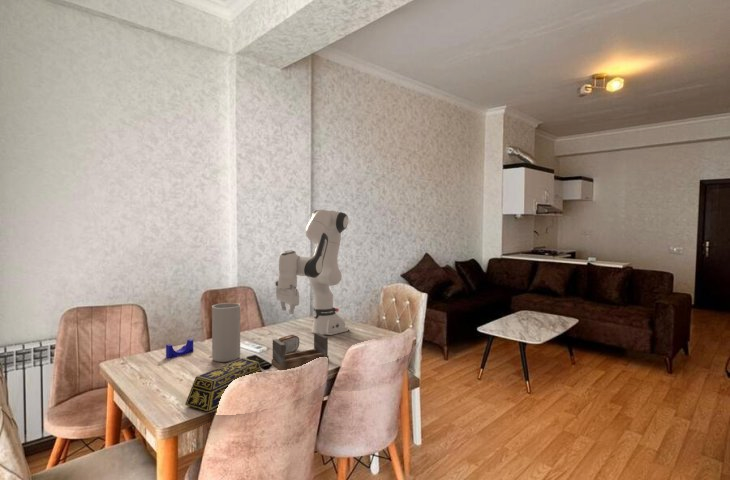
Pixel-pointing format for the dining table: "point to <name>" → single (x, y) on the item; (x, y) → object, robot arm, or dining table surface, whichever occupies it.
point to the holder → (299, 353)
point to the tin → (290, 343)
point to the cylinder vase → (225, 332)
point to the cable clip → (184, 350)
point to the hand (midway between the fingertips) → (287, 311)
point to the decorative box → (218, 383)
